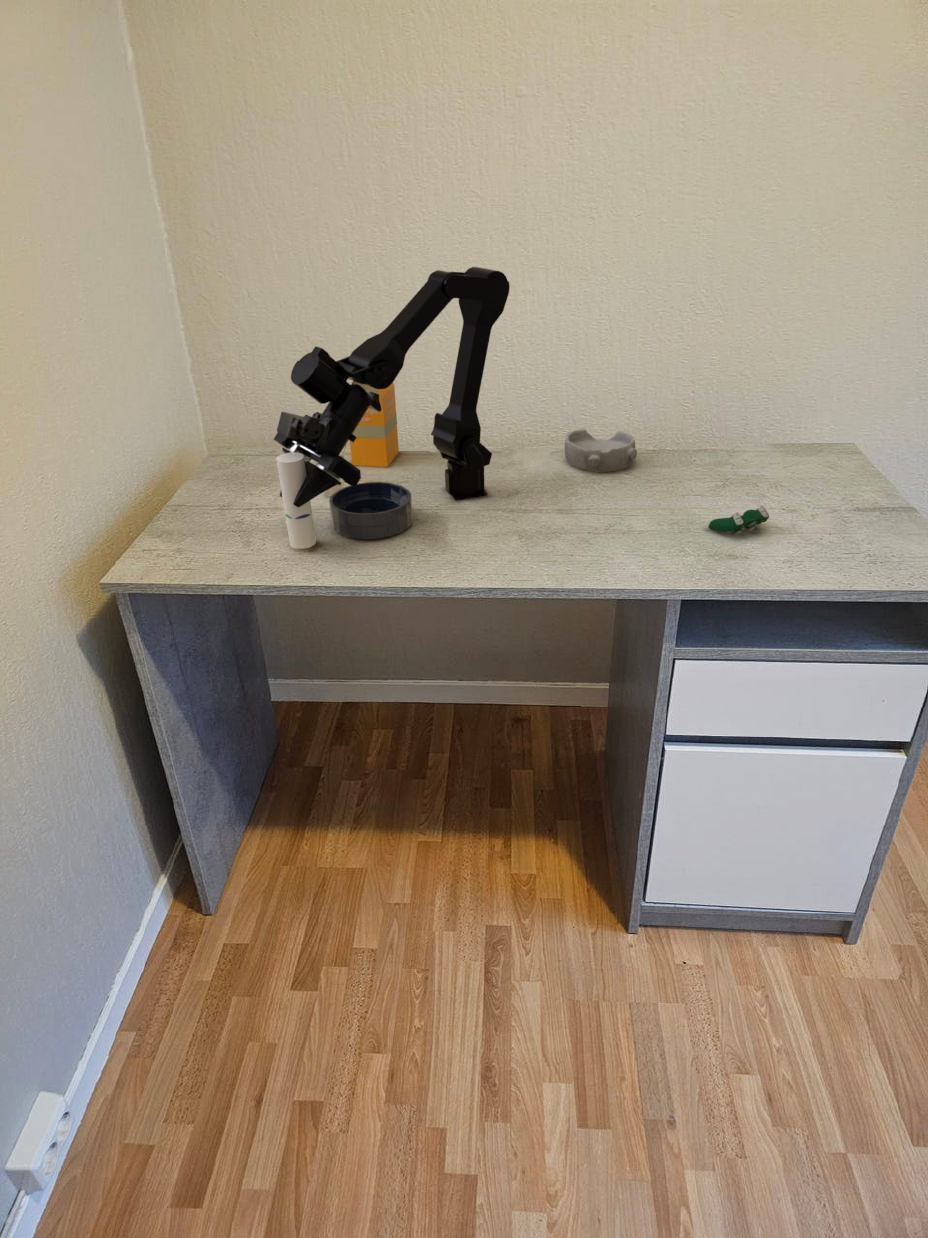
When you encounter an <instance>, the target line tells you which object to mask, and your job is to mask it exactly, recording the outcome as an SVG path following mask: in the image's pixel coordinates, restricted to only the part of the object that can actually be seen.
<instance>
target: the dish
mask: <svg viewBox="0 0 928 1238" xmlns="http://www.w3.org/2000/svg"><path fill="white" fill-rule="evenodd" d="M637 455H638V451H637V449H636V441H635V438H634V436H633V435H631V434H630V433H629V432H625V431H622V430H619V431H617V432H616V433H615V434H614V435H613V436H612V437H610V438H608V439H596V437H594V436H592V435H591V434H590V433H589V432H588V431H587V429H585V428H581V429H576V430H573V431H569V432H567V433H566V435H565V440H564V456H565V459H566V461H567V462H568V463H569V465H571V466H574V467H576V468H579V469H582V470H586V471H590V472H613V471H618V470H622V469H623V470H624V469H627V468H628V467H630V466H631V465H632V464H633V462H634V460H636V458H637Z"/></svg>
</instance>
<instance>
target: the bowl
mask: <svg viewBox="0 0 928 1238" xmlns="http://www.w3.org/2000/svg"><path fill="white" fill-rule="evenodd" d="M328 502H329V503H328V504H329V511H330V520H331V525H332V529H333V530H334V531H335V532H337V533H338V534H340V535H342V536H344V537H347V538H350V539H351V538H352V539H360V540H371V539H372V540H373V539H375V540H376V539H383V538H388V537H391V536H394V535H397V534H400V533H402V532H404V531H405V530H407V529H408V528H409V527H410V526H411V525H412V524H413V519H414V516H413V515H414V513H413V497H412V493H411V491H410V490H409V489H408V488H406V487H404V486H402V485H400V484H396V483H393V482H384V481H368V482H360V483H359V482H358V484H357V485H356V487H355V488H354V487H353V486H351V485H348V486H344V488H342V489H340V490H338V491H336V492H335V493H334V494H333V495H332V496H331V497H329V501H328Z"/></svg>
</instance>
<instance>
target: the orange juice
mask: <svg viewBox="0 0 928 1238" xmlns="http://www.w3.org/2000/svg"><path fill="white" fill-rule="evenodd" d="M353 384H358V385H360V386H361V387H362V388H364V389H365V390H366V391H367V392H368V393H369V392H374V393H377V394H379V401H380V404H381V408H382V410H381V411H380V412H378V411H376V410H374V409H371V408H368V410H367V411H366V413H365V415H364V416H363V418H362V419H361V421H360V423H359V424H358V426H357V427H356V429H355V431H354V432H353V435H354V436H356V437H357V438H356V439H355V441H354V443H353V442H351V441H349V446H350V457H351V464H352V465H354V466H361V467H376V468H377V467H378V468H388V467H389V466H390V464H391V463H392V462H393V460H394V459H395V458H396V456H397V455H398V454H399V452H400V451H399V450H400V449H399V435H398V418H397V407H396V406H397V405H396V391H395V383H394V382H393V383H392V384H391V385H390V386H389V387H388V388H386V389H375V388H373V387H370V386H367V385H365V384H360V383H358V382H355V381H353V380H352V382H351V384H350V385H353Z"/></svg>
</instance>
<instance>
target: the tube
mask: <svg viewBox="0 0 928 1238" xmlns="http://www.w3.org/2000/svg"><path fill="white" fill-rule="evenodd" d="M275 460H276V466H277V472H278V477H279V479H278V480H279V484H280V492H281V491H282V497H281V498H282V504H283V509H284V516H285V522H286V528H287V534H288V535H287V536H288V540H289V545H290V547H291V548H293V549H295V550H296V549H297V550H302V549H309V548H311V547H313V546H315V544H316V543H317V538H316V532H315V525H314V519H313V511H312V503H311V500H310V501H308V502H307V503H305V504H304V505H302V506H300V507H296V506H295V505H294V504H293V503H294V500H295V498H296V496H297V494H298V492H299V490H300V488H301V486H302V484H303V482H304V480H305V478H306V476H307V475H306V468H305V461H304V455H303V454H301V453H283V454H279V455H277V457H276V458H275Z"/></svg>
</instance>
